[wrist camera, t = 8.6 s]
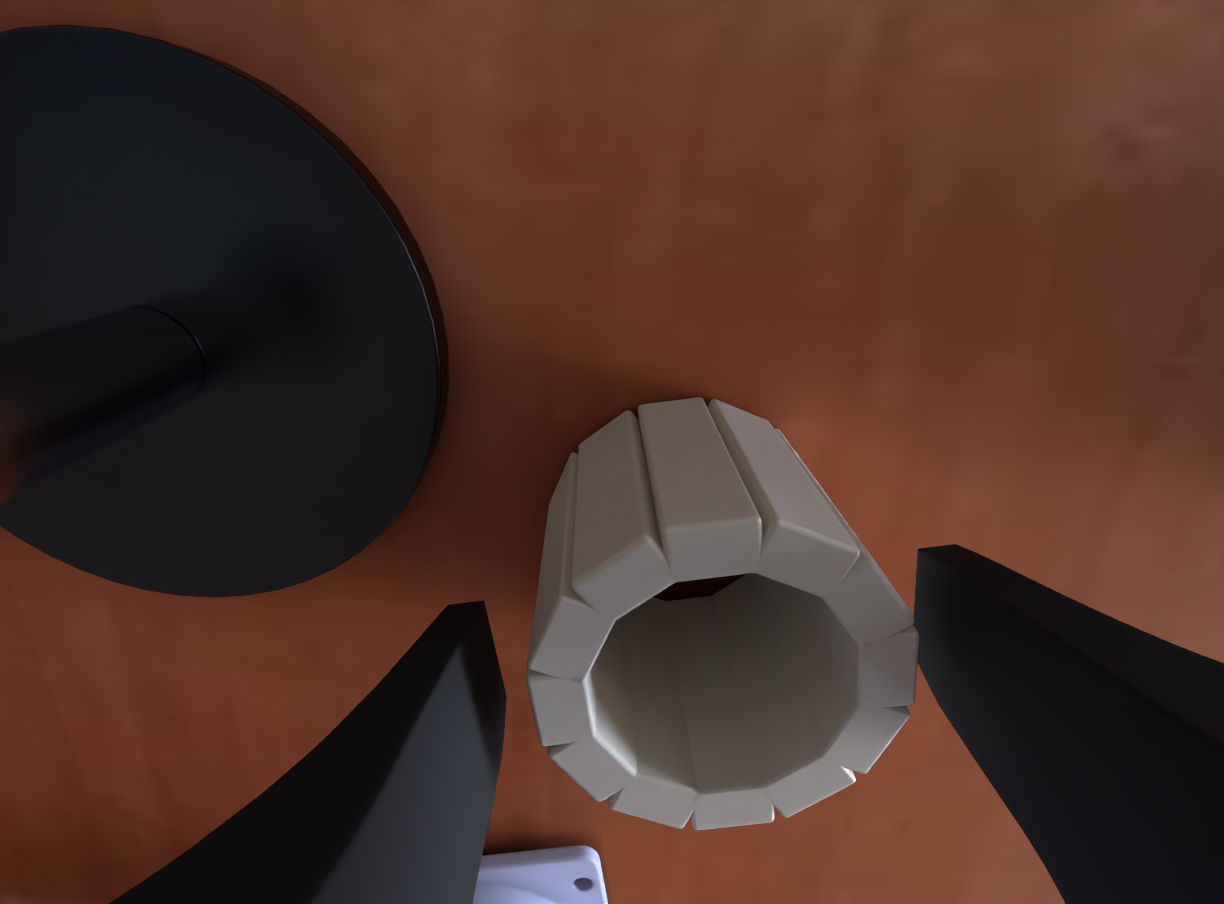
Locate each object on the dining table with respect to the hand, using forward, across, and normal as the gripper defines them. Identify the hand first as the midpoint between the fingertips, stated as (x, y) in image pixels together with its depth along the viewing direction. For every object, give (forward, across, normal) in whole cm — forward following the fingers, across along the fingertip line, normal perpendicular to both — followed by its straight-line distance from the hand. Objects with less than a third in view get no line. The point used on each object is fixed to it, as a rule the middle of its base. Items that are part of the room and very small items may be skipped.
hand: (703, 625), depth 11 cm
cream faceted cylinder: (+3, 0, 0) cm, 3 cm away
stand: (+3, +9, -5) cm, 11 cm away
